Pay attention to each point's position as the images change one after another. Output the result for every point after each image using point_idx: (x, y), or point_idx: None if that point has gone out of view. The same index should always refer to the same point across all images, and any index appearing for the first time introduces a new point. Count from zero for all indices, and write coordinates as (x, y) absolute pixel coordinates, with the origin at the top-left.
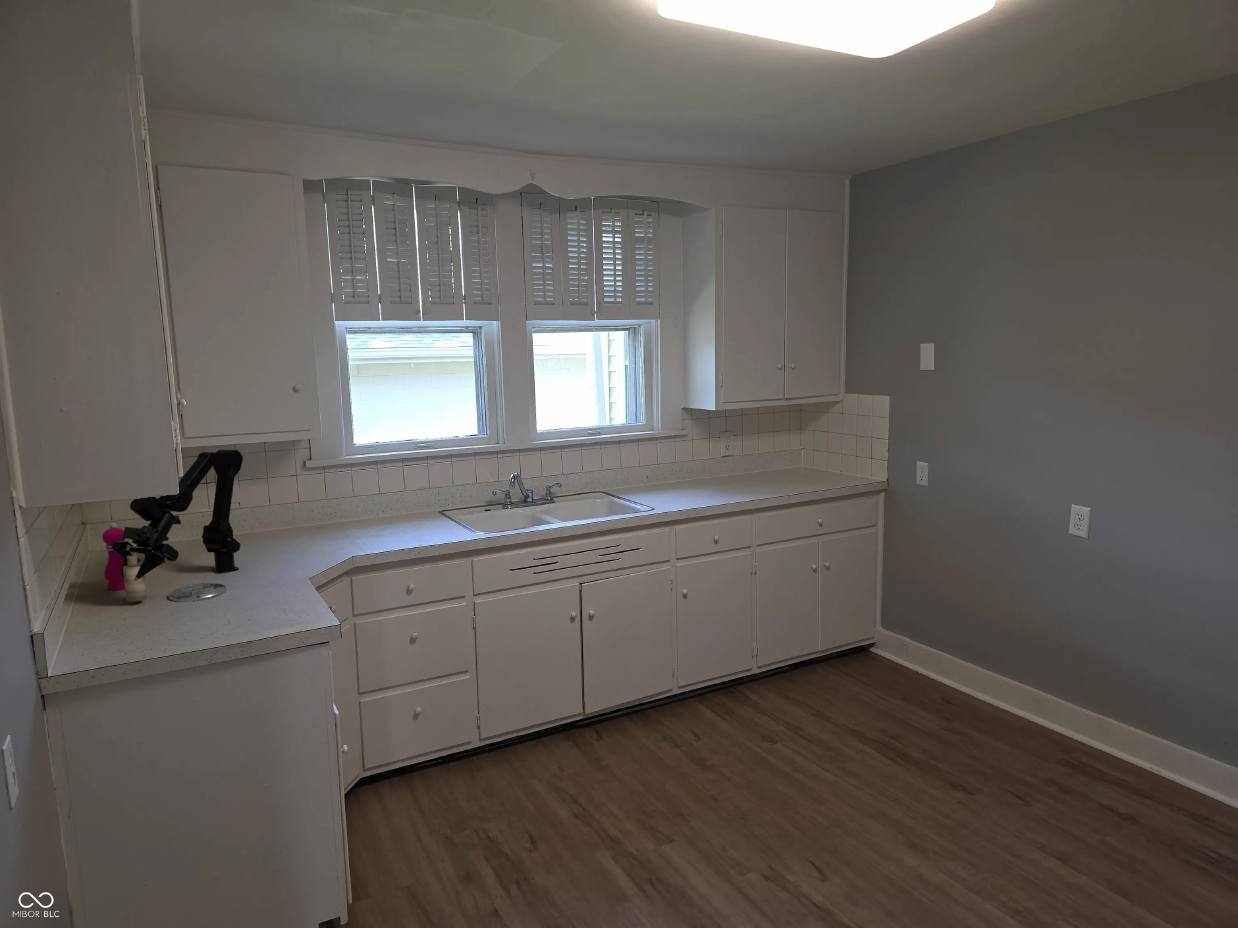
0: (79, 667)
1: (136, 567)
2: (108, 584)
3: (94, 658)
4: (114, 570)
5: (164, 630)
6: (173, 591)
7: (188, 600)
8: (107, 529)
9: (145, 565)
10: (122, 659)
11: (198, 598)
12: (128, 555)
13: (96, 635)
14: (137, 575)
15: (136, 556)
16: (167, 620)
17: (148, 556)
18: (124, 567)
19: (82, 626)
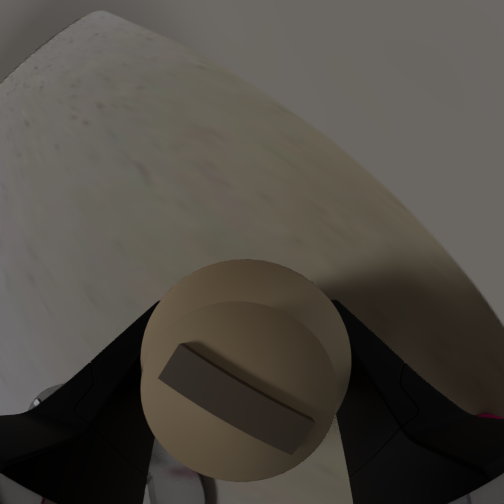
0: (78, 25)
1: (151, 323)
2: (497, 417)
3: (72, 39)
4: None
5: (7, 151)
6: (190, 477)
7: (56, 385)
8: None
9: (86, 375)
10: (34, 58)
11: (36, 397)
12: (333, 396)
13: (131, 72)
14: (155, 304)
15: (155, 419)
16: (20, 201)
17: (11, 423)
18: (298, 291)
19: (226, 92)
